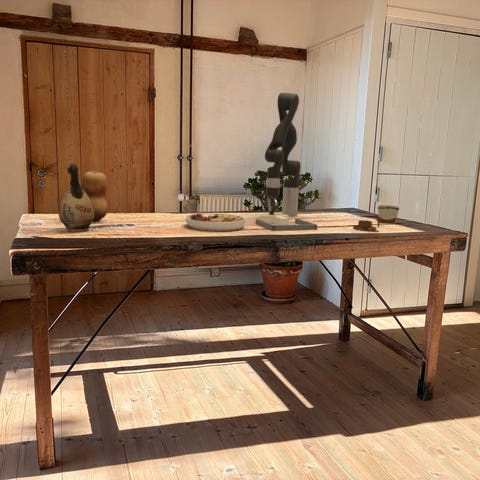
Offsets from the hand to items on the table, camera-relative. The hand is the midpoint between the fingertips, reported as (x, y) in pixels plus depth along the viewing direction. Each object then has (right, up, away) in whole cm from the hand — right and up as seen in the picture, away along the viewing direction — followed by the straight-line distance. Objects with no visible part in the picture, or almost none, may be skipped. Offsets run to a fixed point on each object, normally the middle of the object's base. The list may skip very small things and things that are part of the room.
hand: (271, 217), depth 266 cm
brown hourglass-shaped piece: (-91, -3, -23) cm, 94 cm away
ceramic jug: (-91, -8, -50) cm, 104 cm away
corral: (+6, -5, -16) cm, 18 cm away
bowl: (-30, -6, -25) cm, 39 cm away
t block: (+3, -4, -8) cm, 9 cm away
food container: (+67, -3, +12) cm, 68 cm away
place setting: (+52, -8, -14) cm, 54 cm away
